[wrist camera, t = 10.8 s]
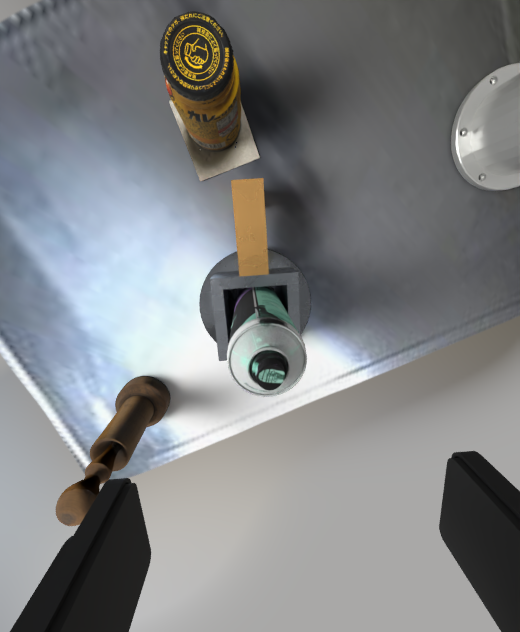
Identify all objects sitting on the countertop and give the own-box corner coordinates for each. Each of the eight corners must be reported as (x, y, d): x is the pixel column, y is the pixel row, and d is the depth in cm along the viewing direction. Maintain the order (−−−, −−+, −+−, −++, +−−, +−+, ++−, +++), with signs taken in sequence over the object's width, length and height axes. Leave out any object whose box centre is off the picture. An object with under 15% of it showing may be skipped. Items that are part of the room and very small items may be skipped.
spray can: (229, 290, 35) (210, 349, 16) (272, 277, 35) (303, 321, 16) (243, 330, 37) (239, 429, 17) (284, 318, 37) (326, 404, 17)
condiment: (232, 75, 31) (222, -24, 19) (259, 158, 33) (266, 113, 21) (169, 102, 31) (123, 19, 20) (200, 181, 33) (176, 150, 22)
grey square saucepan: (306, 187, 34) (321, 174, 27) (310, 350, 39) (323, 373, 32) (187, 195, 33) (172, 184, 27) (207, 358, 39) (198, 383, 32)
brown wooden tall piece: (151, 426, 41) (81, 563, 24) (112, 400, 40) (7, 525, 22) (179, 393, 40) (127, 512, 22) (140, 366, 39) (52, 469, 21)
